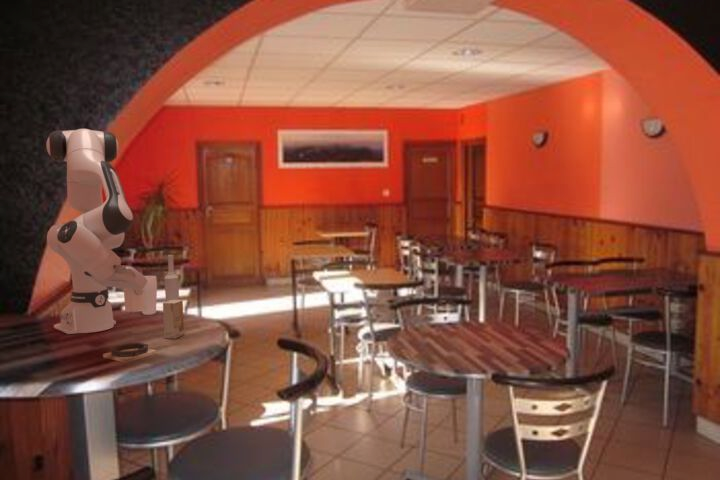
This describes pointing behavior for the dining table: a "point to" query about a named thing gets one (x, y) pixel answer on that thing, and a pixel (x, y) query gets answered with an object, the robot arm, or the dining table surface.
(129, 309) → the carton
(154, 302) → the drinking glass
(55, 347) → the dining table surface
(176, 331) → the skincare box
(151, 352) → the board
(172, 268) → the bottle
